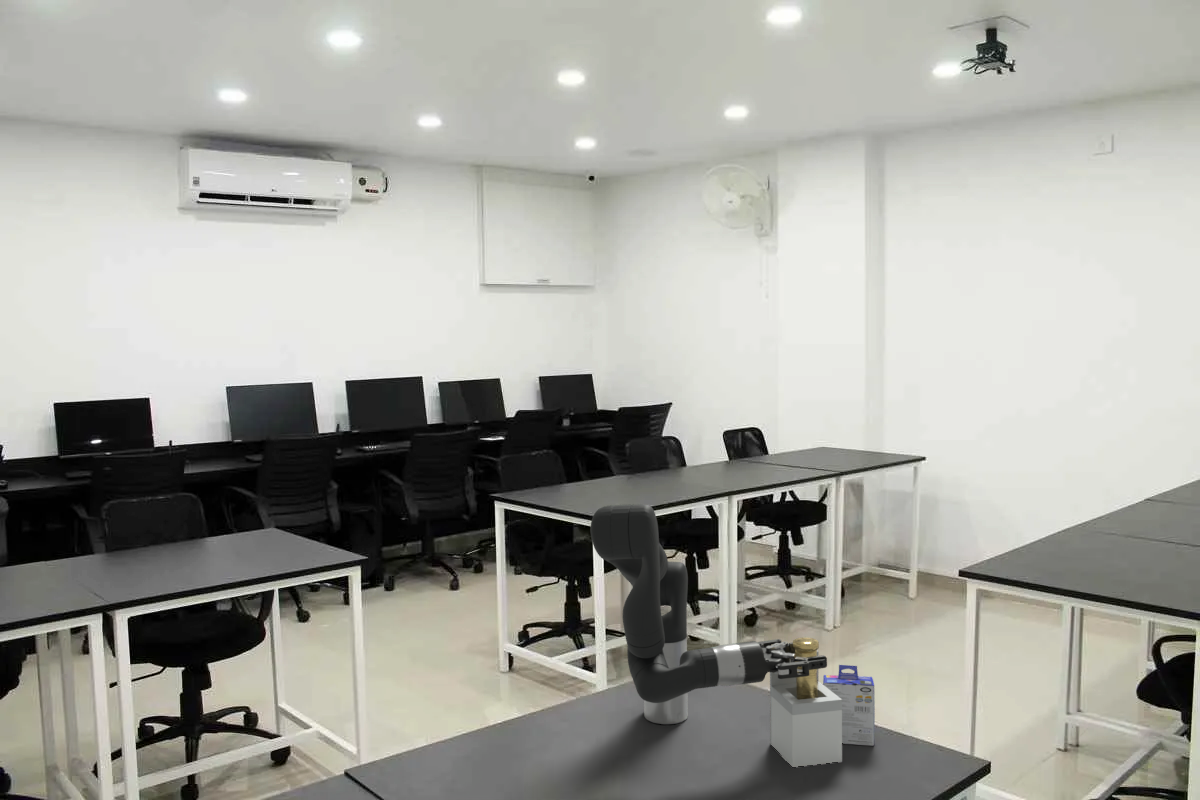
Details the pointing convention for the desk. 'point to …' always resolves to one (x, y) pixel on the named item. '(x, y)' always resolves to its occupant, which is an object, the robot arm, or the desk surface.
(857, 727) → the ink cartridge box
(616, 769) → the desk surface
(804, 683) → the hinge pin
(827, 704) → the hinge block
